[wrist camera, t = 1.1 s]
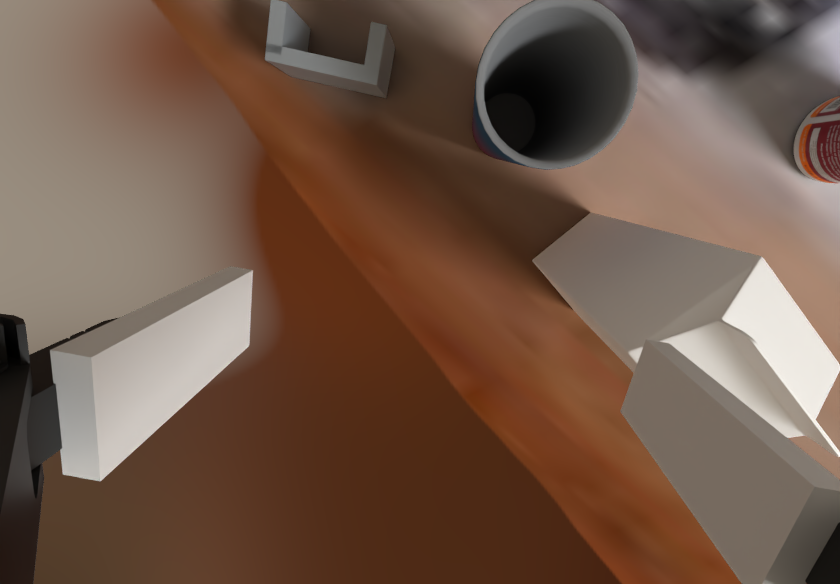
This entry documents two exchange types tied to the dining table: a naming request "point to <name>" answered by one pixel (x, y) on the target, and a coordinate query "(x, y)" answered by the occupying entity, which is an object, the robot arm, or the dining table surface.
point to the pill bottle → (820, 143)
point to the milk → (697, 314)
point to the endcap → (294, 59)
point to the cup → (554, 84)
